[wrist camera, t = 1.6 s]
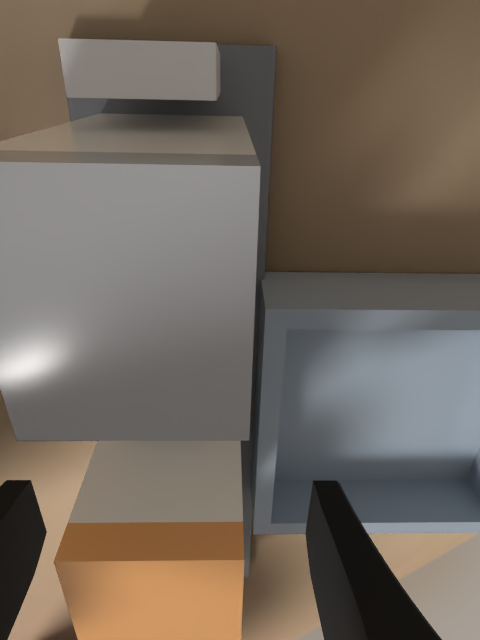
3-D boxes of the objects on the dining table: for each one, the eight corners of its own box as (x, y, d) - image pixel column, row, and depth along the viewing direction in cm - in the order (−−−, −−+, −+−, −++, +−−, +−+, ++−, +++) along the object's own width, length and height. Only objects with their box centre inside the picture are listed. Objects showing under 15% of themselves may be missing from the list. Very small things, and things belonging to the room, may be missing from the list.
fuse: (118, 265, 13) (16, 441, 7) (100, 113, 11) (-71, 161, 5) (239, 266, 13) (249, 440, 7) (242, 116, 11) (261, 166, 5)
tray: (250, 478, 18) (253, 534, 16) (259, 271, 14) (265, 308, 11) (470, 478, 18) (503, 532, 16) (550, 274, 14) (611, 311, 12)
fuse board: (143, 566, 21) (122, 683, 17) (66, 42, 10) (-34, 20, 6) (248, 564, 21) (253, 681, 17) (273, 47, 11) (301, 28, 7)
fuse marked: (140, 443, 16) (86, 668, 10) (129, 352, 14) (54, 562, 8) (235, 443, 16) (240, 665, 10) (237, 352, 14) (244, 560, 8)
